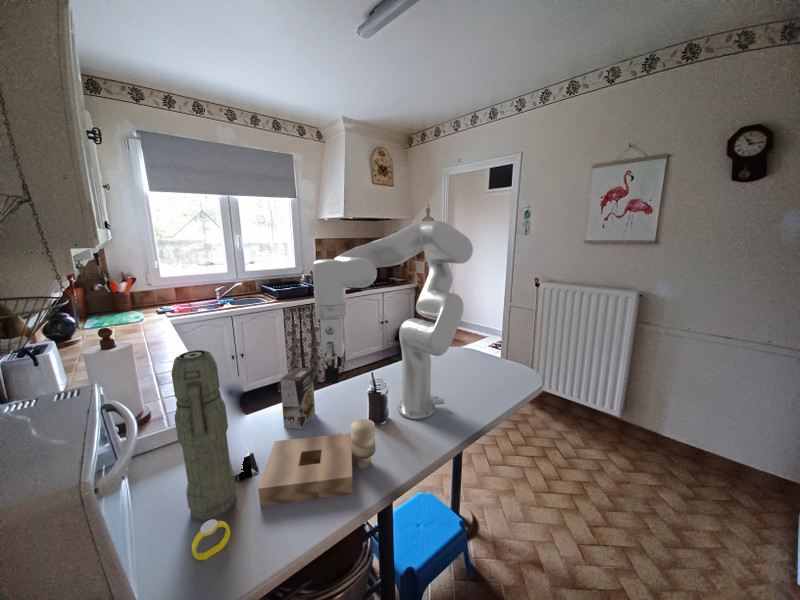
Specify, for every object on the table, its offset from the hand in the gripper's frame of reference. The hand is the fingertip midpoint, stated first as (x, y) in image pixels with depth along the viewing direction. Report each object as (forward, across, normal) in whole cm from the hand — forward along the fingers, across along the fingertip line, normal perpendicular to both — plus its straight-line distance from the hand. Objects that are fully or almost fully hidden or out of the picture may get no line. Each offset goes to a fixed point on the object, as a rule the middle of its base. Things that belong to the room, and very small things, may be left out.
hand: (333, 374), depth 80 cm
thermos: (+23, -14, +26) cm, 37 cm away
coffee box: (+23, +16, +13) cm, 31 cm away
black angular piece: (+24, -3, +23) cm, 33 cm away
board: (+23, -7, +6) cm, 25 cm away
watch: (+23, -25, +21) cm, 40 cm away
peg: (+23, -6, -7) cm, 25 cm away
